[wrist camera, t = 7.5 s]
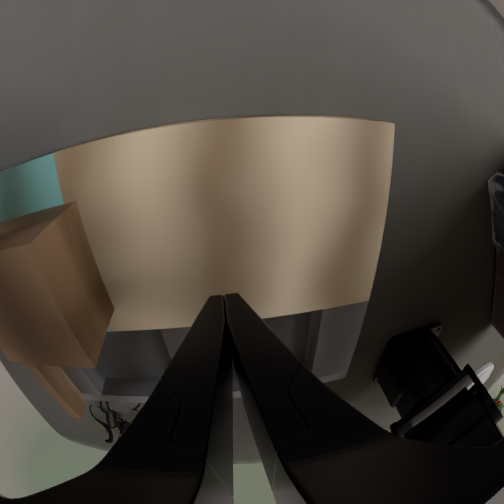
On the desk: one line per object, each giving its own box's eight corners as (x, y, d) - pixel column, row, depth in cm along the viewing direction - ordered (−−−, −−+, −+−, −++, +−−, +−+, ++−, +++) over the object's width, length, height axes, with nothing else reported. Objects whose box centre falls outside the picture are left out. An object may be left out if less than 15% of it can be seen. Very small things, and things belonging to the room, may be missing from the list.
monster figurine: (500, 354, 34) (525, 388, 25) (474, 388, 40) (494, 420, 31) (465, 377, 33) (491, 418, 24) (438, 410, 39) (457, 447, 30)
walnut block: (76, 200, 10) (29, 243, 7) (114, 308, 13) (95, 367, 10) (-6, 224, 10) (-49, 263, 6) (35, 313, 13) (9, 361, 9)
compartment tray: (372, 119, 12) (422, 129, 9) (337, 359, 21) (354, 397, 18) (-13, 177, 10) (-55, 202, 7) (82, 380, 19) (72, 417, 15)
